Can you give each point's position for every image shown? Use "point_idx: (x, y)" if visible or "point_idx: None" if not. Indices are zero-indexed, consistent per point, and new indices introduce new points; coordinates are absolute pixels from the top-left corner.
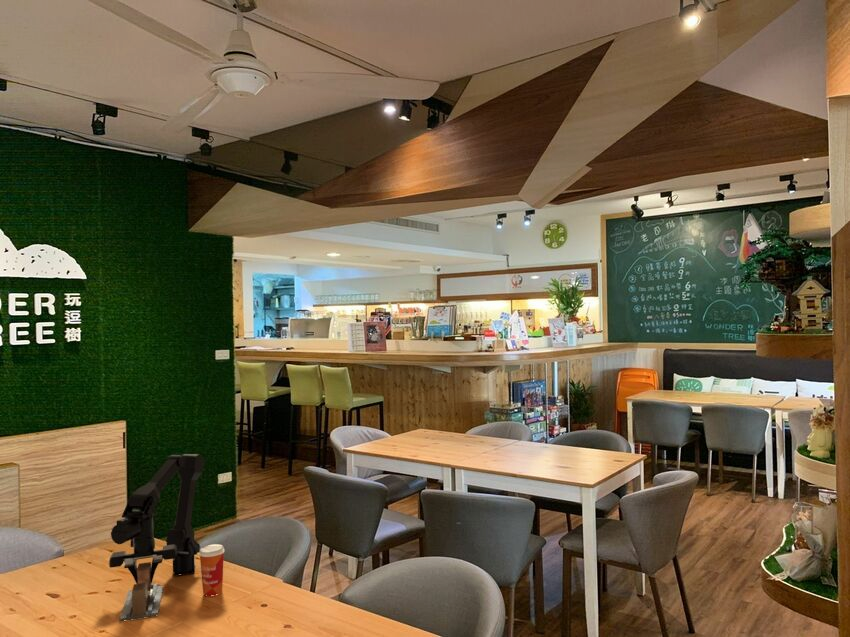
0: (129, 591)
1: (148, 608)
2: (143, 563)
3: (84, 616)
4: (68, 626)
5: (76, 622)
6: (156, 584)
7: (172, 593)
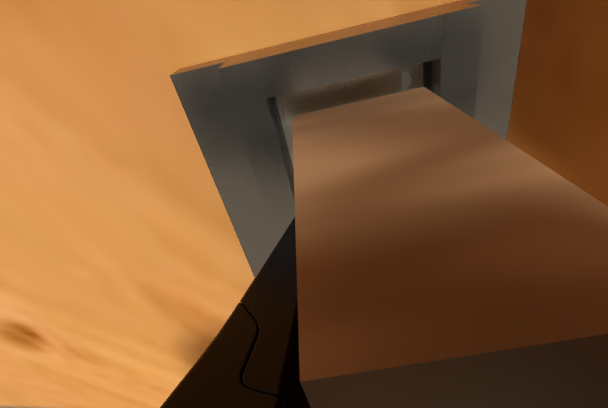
0: (193, 104)
1: None
2: (466, 387)
3: (92, 341)
4: (92, 396)
5: (101, 377)
6: (471, 54)
7: (571, 133)
